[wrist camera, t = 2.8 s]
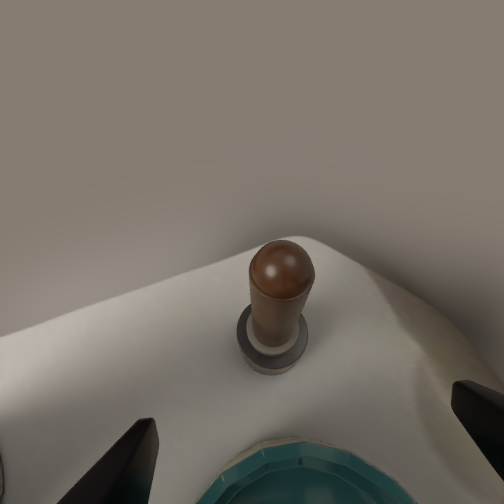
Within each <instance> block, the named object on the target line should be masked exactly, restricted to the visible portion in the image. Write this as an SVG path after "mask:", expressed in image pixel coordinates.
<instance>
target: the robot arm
mask: <svg viewBox="0 0 504 504" xmlns="http://www.w3.org/2000/svg"><path fill="white" fill-rule="evenodd" d="M451 407H452V410H453V412H454V414H455V415H456V417H457V418H458V419H459V421H460V422H461V424H462V425H463V426H464V428H465V429H466V431H467V432H468V433H469V435H470V436H471V438H472V439H473V440H474V442H475V443H476V445H477V446H478V447H479V449H480V450H481V452H482V453H483V454H484V456H485V457H486V459H487V460H488V461H489V463H490V464H491V465H492V467H493V468H494V469H495V471H496V472H497V473H498V475H499V476H500V477H501V478H502V480H503V481H504V395H503V394H501V393H499V392H496V391H494V390H492V389H489V388H487V387H484V386H482V385H480V384H477V383H475V382H473V381H470V380H462V381H456V382H454V383H453V386H452V396H451ZM158 450H159V438H158V433H157V428H156V423H155V420H154V418H152V417H150V418H142V419H139V420H137V421H136V422H135V423H134V424H133V425H132V426H131V427H130V428H129V430H128V431H127V432H126V433H125V434H124V435H123V436H122V437H121V438H120V439H119V440H118V441H117V442H116V443H115V444H114V445H113V446H112V447H111V448H110V449H109V450H108V451H107V452H106V453H105V454H104V455H103V456H102V457H101V458H100V459H99V460H98V461H97V462H96V463H95V464H94V465H93V467H92V468H91V469H90V470H89V471H88V472H87V473H86V474H85V475H84V476H83V477H82V478H81V479H80V480H79V481H78V482H77V483H76V484H75V485H74V486H73V487H72V488H71V489H70V490H69V491H68V492H67V493H66V494H65V495H64V496H63V497H62V498H61V499H60V500H59V501H58V503H57V504H148V500H149V495H150V490H151V485H152V480H153V475H154V470H155V465H156V460H157V455H158Z"/></svg>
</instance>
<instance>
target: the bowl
mask: <svg viewBox="0 0 504 504" xmlns="http://www.w3.org/2000/svg"><path fill="white" fill-rule="evenodd" d="M194 504H418V503H417V502H416V501H415V500H414V499H413V498H412V497H411V495H410V494H409V493H408V492H407V491H406V490H405V489H404V488H403V487H402V486H401V485H400V484H399V483H398V482H397V481H396V480H395V479H394V478H392V477H391V476H389V475H387V474H386V473H384V472H382V471H381V470H379V469H377V468H376V467H374V466H373V465H371V464H369V463H368V462H366V461H364V460H363V459H361V458H360V457H358V456H356V455H355V454H353V453H351V452H349V451H347V450H344V449H342V448H339V447H337V446H335V445H332V444H330V443H325V442H321V441H316V440H312V439H307V438H303V437H298V436H291V437H285V438H280V439H274V440H268V441H262V442H259V443H258V444H256V445H254V446H253V447H251V448H250V449H248V450H246V451H245V452H243V453H241V454H240V455H238V456H236V457H235V458H233V459H231V460H230V461H229V462H228V463H227V464H226V465H225V466H224V467H223V468H222V470H221V471H220V472H219V473H218V474H217V476H216V477H215V478H214V479H213V480H212V481H211V483H210V484H209V485H208V486H207V487H206V489H205V490H204V491H203V492H202V493H201V495H200V496H199V497H198V499H197V500H196V501H195V503H194Z"/></svg>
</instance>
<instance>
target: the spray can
mask: <svg viewBox="0 0 504 504" xmlns="http://www.w3.org/2000/svg"><path fill="white" fill-rule="evenodd" d="M2 492H3V474H2V467H1V460H0V497H1V494H2ZM1 500H2V499H1ZM0 502H1V501H0Z"/></svg>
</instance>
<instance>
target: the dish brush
mask: <svg viewBox="0 0 504 504" xmlns="http://www.w3.org/2000/svg"><path fill="white" fill-rule="evenodd" d="M314 278H315V271H314V267H313V264H312V262H311V259H310V257H309V255H308V254H307V252H306V251H305V250H304V249H303V248H302V247H301V246H299V245H298V244H296V243H294V242H291V241H287V240H277V241H273V242H270V243H268V244H266V245H265V246H263V247H262V248H261V249H260V250H259V251H258V252H257V254H256V255H255V256H254V257H253V259H252V261H251V263H250V266H249V281H250V296H251V304H250V305H249V306H247V307H246V309H245V310H244V311H243V312H242V314H241V316H240V318H239V320H238V324H237V340H238V343H239V347H240V351H241V354H242V356H243V358H244V360H245V361H246V363H247V364H248V365H249V366H250V367H251V368H252V369H254V370H255V371H257V372H259V373H261V374H265V375H279V374H282V373H284V372H286V371H288V370H289V369H291V368H292V367H293V366H294V365H295V363H296V362H297V361H298V359H299V358H300V356H301V355H302V354H303V352H304V350H305V348H306V345H307V341H308V329H307V325H306V321H305V319H304V317H303V315H302V314H301V312H302V309H303V307H304V304H305V302H306V300H307V297H308V295H309V292H310V290H311V288H312V285H313V283H314Z"/></svg>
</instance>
